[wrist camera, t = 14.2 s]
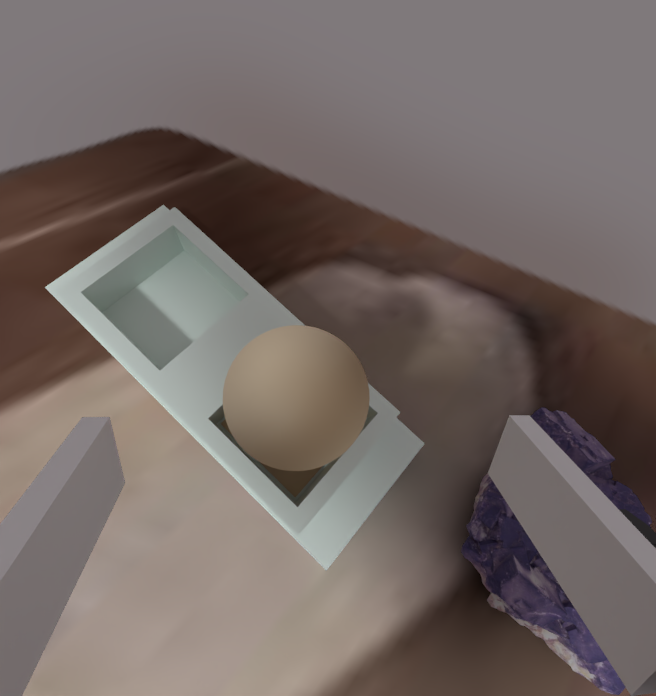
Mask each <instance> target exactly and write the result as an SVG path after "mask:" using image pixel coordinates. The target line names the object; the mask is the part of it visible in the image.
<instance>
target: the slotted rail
mask: <svg viewBox="0 0 656 696" xmlns="http://www.w3.org/2000/svg"><path fill="white" fill-rule="evenodd" d="M45 288H46V289H47V290H48V291H49V292H50V293H51V294H52V295H53V296H54V297H55V298H56V299H57V300H58V301H59V302H60V303H61V304H62V305H63V306H64V307H65V308H66V309H67V310H68V311H69V312H70V313H71V314H72V315H73V316H74V317H75V318H76V319H77V320H78V321H79V322H80V323H81V324H82V325H83V326H84V327H85V328H86V329H87V330H88V331H89V332H90V333H91V334H92V335H93V336H94V337H95V338H96V339H97V340H98V341H99V342H100V343H101V344H102V345H103V346H104V347H105V348H106V349H107V350H108V351H109V352H110V353H111V354H112V355H113V356H114V357H115V358H116V359H117V360H118V361H119V362H120V363H121V364H122V365H123V366H124V368H125V369H126V370H127V371H128V372H129V373H130V374H131V375H132V376H133V377H134V378H135V379H136V380H137V381H138V382H139V383H140V384H141V385H142V386H143V387H144V388H145V389H146V390H147V391H148V392H149V393H150V394H151V395H152V396H153V397H154V398H155V399H156V400H157V401H158V402H159V403H160V404H161V405H162V406H163V407H164V408H165V409H166V410H167V411H168V412H169V413H170V414H171V415H172V416H173V417H174V418H175V419H176V420H177V421H178V422H179V423H180V424H181V425H182V426H183V427H184V428H185V429H186V430H187V431H188V432H189V433H190V434H191V435H192V436H193V437H194V438H195V439H196V440H197V441H198V442H199V443H200V444H201V445H202V446H203V447H204V448H205V449H206V450H207V451H208V452H209V453H210V454H211V455H212V456H213V457H214V458H215V459H216V460H217V461H218V462H219V463H220V464H221V465H222V466H223V467H224V468H225V469H226V470H227V471H228V472H229V473H230V474H231V475H232V476H233V477H234V478H235V479H236V480H237V481H238V482H239V483H240V484H241V485H242V486H243V487H244V488H245V489H246V490H247V491H248V492H249V493H250V494H251V495H252V496H253V497H254V498H255V499H256V500H257V501H258V502H259V503H260V504H261V505H262V506H263V507H264V508H265V509H266V510H267V511H268V512H269V513H270V514H271V515H272V516H273V517H274V518H275V519H276V521H277V522H278V523H279V524H280V525H281V526H282V527H283V528H284V529H285V530H286V531H287V532H288V533H289V534H290V535H291V536H292V537H293V538H294V539H295V540H296V541H297V542H298V543H299V544H300V545H301V546H302V547H303V548H304V549H305V550H306V551H307V552H308V553H309V554H310V555H311V556H312V557H313V558H314V559H315V560H316V561H317V562H318V563H319V564H320V565H321V566H322V567H323V568H324V569H325V570H326V571H327V569H328V568H329V567H330V565H331V564H332V563H333V561H334V560H335V559H336V558H337V556H338V555H339V554H340V552H341V551H342V550H343V549H344V547H345V546H346V545H347V543H348V542H349V541H350V540H351V538H352V537H353V536H354V534H355V533H356V532H357V530H358V529H359V528H360V527H361V525H362V524H363V523H364V521H365V520H366V519H367V518H368V516H369V515H370V514H371V512H372V511H373V510H374V508H375V507H376V506H377V505H378V503H379V502H380V501H381V499H382V498H383V497H384V496H385V494H386V493H387V492H388V490H389V489H390V488H391V487H392V485H393V484H394V483H395V481H396V480H397V479H398V477H399V476H400V475H401V474H402V472H403V471H404V470H405V468H406V467H407V466H408V465H409V463H410V462H411V461H412V459H413V458H414V457H415V455H416V454H417V453H418V452H419V450H420V449H421V448H422V446H423V445H424V444H425V443H424V442H423V441H421V440H420V439H419V438H418V437H417V436H416V435H415V434H414V433H413V432H412V431H411V430H409V429H408V428H407V427H406V426H405V425H404V424H403V423H402V422H401V421H400V420H398V419H397V418H396V417H397V416H398V415H399V414H400V413H401V412H400V411H399V410H397V409H396V408H395V407H394V406H393V405H392V404H391V403H390V402H389V401H388V400H386V399H385V398H384V397H383V396H382V395H381V394H380V393H379V392H378V391H377V390H375V389H374V388H373V387H372V386H371V385H370V384H369V383H368V386H369V397H370V400H369V410H368V414H367V418H366V421H365V424H364V427H363V429H362V431H361V432H360V434H359V436H358V438H357V439H356V440H355V442H354V443H353V444H352V445H351V447H350V448H349V449H348V450H347V451H346V452H345V453H343V454H342V455H341V456H340V457H338V458H337V459H335V460H334V461H332V462H330V463H328V464H326V465H324V466H321V467H318V468H315V469H311V470H305V471H286V470H280V469H276V468H272V467H270V466H267V465H265V464H263V463H261V462H259V461H257V460H256V459H254V458H253V457H251V456H250V455H249V454H248V453H247V452H245V451H244V450H243V448H242V447H241V446H240V445H239V444H238V443H237V441H236V440H235V438H234V437H233V435H232V433H231V431H230V430H229V428H228V425H227V422H226V419H225V415H224V410H223V388H224V383H225V379H226V376H227V373H228V370H229V368H230V366H231V364H232V362H233V361H234V359H235V358H236V356H237V355H238V353H239V352H240V351H241V350H242V349H243V348H244V347H245V346H246V345H247V344H248V343H249V342H250V341H252V340H253V339H255V338H256V337H257V336H259V335H261V334H263V333H265V332H267V331H269V330H272V329H275V328H279V327H283V326H291V325H303V326H305V325H304V324H303V323H302V322H301V321H300V320H299V319H297V318H296V317H295V316H294V315H293V314H292V313H291V312H290V311H289V310H288V309H286V308H285V307H284V306H283V305H282V304H281V303H280V302H279V301H278V300H277V299H275V298H274V297H273V296H272V295H271V294H270V293H269V292H268V291H267V290H266V289H264V288H263V287H262V286H261V285H260V284H259V283H258V282H257V281H256V280H255V279H253V278H252V277H251V276H250V275H249V274H248V273H247V272H246V271H245V270H244V269H242V268H241V267H240V266H239V265H238V264H237V263H236V262H235V261H234V260H233V259H231V258H230V257H229V256H228V255H227V254H226V253H225V252H224V251H223V250H222V249H221V248H219V247H218V246H217V245H216V244H215V243H214V242H213V241H212V240H211V239H210V238H208V237H207V236H206V235H205V234H204V233H203V232H202V231H201V230H200V229H199V228H197V227H196V226H195V225H194V224H193V223H192V222H191V221H190V220H189V219H188V218H186V217H185V216H184V215H183V214H182V213H181V212H180V211H179V210H178V209H177V208H175V207H174V208H172V209H171V210H169V209H168V208H166V207H165V206H164V205H162V206H161V207H159V208H158V209H157V210H155V211H154V212H152V213H151V214H149V215H148V216H147V217H145V218H144V219H142V220H141V221H139V222H138V223H136V224H135V225H134V226H132V227H131V228H129V229H128V230H126V231H125V232H124V233H122V234H121V235H119V236H118V237H116V238H115V239H114V240H112V241H111V242H109V243H108V244H106V245H105V246H104V247H102V248H101V249H99V250H98V251H96V252H95V253H94V254H92V255H91V256H89V257H88V258H86V259H85V260H83V261H82V262H81V263H79V264H78V265H76V266H75V267H73V268H72V269H71V270H69V271H68V272H66V273H65V274H63V275H62V276H61V277H59V278H58V279H56V280H55V281H53V282H52V283H51V284H49V285H48V286H46V287H45Z"/></svg>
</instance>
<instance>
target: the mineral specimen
mask: <svg viewBox="0 0 656 696" xmlns="http://www.w3.org/2000/svg"><path fill="white" fill-rule="evenodd" d="M530 417H531V418H532V419H533V420H534V421H535V422H536V423H537V424H538V425H539V426H540V427H541V428H542V429H543V430H544V431H545V432H546V433H547V434H548V436H549V437H550V438H551V439H552V440H553V441H554V442H555V443H556V444H557V445H558V446H559V447H560V448H561V449H562V450H563V451H564V452H565V453H566V455H567V456H568V457H569V458H570V459H571V460H572V461H573V462H574V463H575V464H576V465H577V466H578V467H579V468H580V469H581V470H582V471H583V472H584V474H585V475H586V476H587V477H588V478H589V479H590V480H591V481H592V482H593V483H594V484H595V485H596V486H597V487H598V488H599V489H600V490H601V491H602V492H603V494H604V495H605V496H606V497H607V498H608V499H609V500H610V501H611V502H612V503H613V504H614V505H615V506H616V507H617V508H618V509H626V510H627V511H629V512H630V513H632V514H633V515H634V516H636V517H637V518H639V519H640V520H642V521H643V522H644V523H646V524H647V525H648V526H649V525H650V524H651V523H652V520H651V517H650V516H649V515H648V514H647V513H646V512H645V511H644V507H643V505H642V504H641V502H640V500H639V499H638V497H637V496H636V495H635V494H634V493H633V492H632V490H631V489H630V488H628V487H627V486H626V485H623V484H621V483H620V482H618V481H613V480H612V478H613V476H612V472H611V466H610V463H611V462H613V461H614V460H616V459H615V458H614V457H613V456H612V455H611V454H610V453H609V452H608V451H607V450H606V449H605V448H604V447H603V446H602V445H601V444H600V443H599V441H598V440H597V439H596V438H595V437H594V436H593V435H591V434H589V433H588V432H586V431H585V430H584V429H583V428H582V427H581V426H580V425H579V424H577V423H576V421H575V420H574V418H571V417H570V416H569V415H568V414H567V413H566V412H563V411H558V410H556V411H554V412H551V411H549V410H548V409H546V408H544V407H543V408H540V409H538V410H537V411H535V412H534V414H533V415H532V416H530ZM466 527H467V530H468V532H469V537H468V538H467V540H466V541H465V543H464V544H463V546H462V549H461V553H462V554H463V556H464V558H466V559H467V560H469V561H471V562H472V564H473V566H474V567H475V568H476V569H477V571H478V572H479V573H480V575H481V579H482V583H483V585H484V586H485V587H486V589H487V590H488V591H490V595H489V597H488V599H487V601H488V603H489V604H490V605H491V607H493V608H496V609H498V610H500V611H502V612H505V613H508V614H509V615H510V616H511V617H512V618H513V619H514V620H515V621H516V622H517V623H518V624H520V625H521V626H526V627H527V628H528V629H530V630H531V631H532V632H533V633H534V634H535V635H536V636H538V637H540V638H542V639H543V640H544V641H545V643H546V644H547V645H548V646H549V648H550V649H551V650H553V651H554V652H555V653H556V654H557V655H558V656H559V657H560V658H561V659H563V660H564V661H565V662H566V663H567V664H568V665H570V666H571V668H572V670H573V671H575V672H577V673H578V674H580V675H582V676H583V677H585V678H587V679H588V680H589V681H591V682H592V683H593V684H594V685H595V686H597V687H598V688H599V689H600V690H603V691H605V692H608V693H610V694H616V695H619V694H620V693H621V692H622V691H623V690H624V688H625V685H624V684H623V682H622V681H621V679H620V678H619V676H618V674H617V673H616V671H615V670H614V668H613V667H612V665H611V664H610V662H609V660H608V659H607V657H606V656H605V654H604V653H603V651H602V650H601V648H600V646H599V645H598V643H597V642H596V640H595V639H594V637H593V636H592V634H591V633H590V631H589V629H588V628H587V626H586V625H585V623H584V622H583V620H582V619H581V617H580V615H579V614H578V612H577V611H576V609H575V608H574V606H573V605H572V603H571V602H570V600H569V598H568V597H567V595H566V594H565V592H564V591H563V589H562V588H561V586H560V584H559V583H558V581H557V580H556V578H555V577H554V575H553V574H552V572H551V570H550V569H549V567H548V566H547V564H546V563H545V561H544V560H543V558H542V557H541V555H540V553H539V552H538V550H537V549H536V547H535V546H534V544H533V543H532V541H531V539H530V538H529V536H528V535H527V533H526V532H525V530H524V529H523V527H522V525H521V524H520V522H519V521H518V519H517V518H516V516H515V515H514V513H513V512H512V510H511V508H510V507H509V505H508V504H507V502H506V501H505V499H504V498H503V496H502V494H501V493H500V491H499V490H498V488H497V487H496V485H495V484H494V482H493V481H492V479H491V477H490V476H489V474H488V473H487V474H486V475H485V476H484V477H483V478H482V481H481V484H480V490H479V492H478V494H477V496H476V497H475V502H474V512H473V514H472V516H471V520H470V522H469V523H468V524H467V525H466ZM649 527H650V526H649ZM650 528H651V527H650Z"/></svg>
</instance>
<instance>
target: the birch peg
mask: <svg viewBox="0 0 656 696" xmlns="http://www.w3.org/2000/svg"><path fill="white" fill-rule="evenodd" d="M369 400H370V397H369V386H368V380H367V377H366V374H365V371H364V369H363V367H362V364H361V363H360V361H359V359H358V358H357V356H356V355H355V353H354V352H353V351H352V350H351V349H350V348H349V347H348V346H347V345H346V344H345V343H344V342H343V341H342V340H340V339H339V338H337V337H336V336H334V335H332V334H331V333H329V332H326V331H324V330H322V329H318V328H315V327H310V326H303V325H291V326H283V327H279V328H275V329H272V330H269V331H267V332H265V333H263V334H261V335H259V336H257V337H256V338H255V339H253V340H252V341H250V342H249V343H248V344H247V345H246V346H245V347H244V348H243V349H242V350H241V351H240V352H239V353H238V355H237V356H236V358H235V359H234V361H233V362H232V364H231V366H230V368H229V370H228V373H227V376H226V379H225V383H224V388H223V410H224V415H225V419H226V422H227V425H228V428H229V430H230V431H231V433H232V435H233V437H234V438H235V440H236V441H237V443H238V444H239V445H240V446H241V447H242V448H243V450H244V451H245V452H247V453H248V454H249V455H250V456H251V457H253V458H254V459H256V460H257V461H259V462H261V463H263V464H265V465H267V466H270V467H272V468H276V469H280V470H286V471H305V470H311V469H315V468H318V467H321V466H324V465H326V464H328V463H330V462H332V461H334V460H335V459H337V458H338V457H340V456H341V455H342V454H343V453H345V452H346V451H347V450H348V449H349V448H350V447H351V445H352V444H353V443H354V442H355V440H356V439H357V438H358V436H359V434H360V432H361V431H362V429H363V427H364V424H365V421H366V418H367V414H368V410H369Z"/></svg>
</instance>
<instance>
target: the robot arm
mask: <svg viewBox="0 0 656 696" xmlns="http://www.w3.org/2000/svg"><path fill="white" fill-rule="evenodd" d="M488 474H489V476H490V477H491V479H492V481H493V482H494V484H495V485H496V487H497V488H498V490H499V491H500V493H501V494H502V496H503V498H504V499H505V501H506V502H507V504H508V505H509V507H510V508H511V510H512V512H513V513H514V515H515V516H516V518H517V519H518V521H519V522H520V524H521V525H522V527H523V529H524V530H525V532H526V533H527V535H528V536H529V538H530V539H531V541H532V543H533V544H534V546H535V547H536V549H537V550H538V552H539V553H540V555H541V557H542V558H543V560H544V561H545V563H546V564H547V566H548V567H549V569H550V570H551V572H552V574H553V575H554V577H555V578H556V580H557V581H558V583H559V584H560V586H561V588H562V589H563V591H564V592H565V594H566V595H567V597H568V598H569V600H570V602H571V603H572V605H573V606H574V608H575V609H576V611H577V612H578V614H579V615H580V617H581V619H582V620H583V622H584V623H585V625H586V626H587V628H588V629H589V631H590V633H591V634H592V636H593V637H594V639H595V640H596V642H597V643H598V645H599V646H600V648H601V650H602V651H603V653H604V654H605V656H606V657H607V659H608V660H609V662H610V664H611V665H612V667H613V668H614V670H615V671H616V673H617V674H618V676H619V678H620V679H621V681H622V682H623V684H624V685H625V687H626V688H627V690H628V691H629V693H630V695H631V696H632V695H641V694H649V693H656V533H655V532H654V531H653V530H652V529H651V528H650V527H649V526H648V525H647V524H646V523H644V522H643V521H642V520H640V519H639V518H637V517H636V516H634V515H633V514H632V513H630V512H629V511H627V510H626V509H618V508H617V507H616V506H615V505H614V504H613V503H612V502H611V501H610V500H609V499H608V498H607V497H606V496H605V495H604V494H603V492H602V491H601V490H600V489H599V488H598V487H597V486H596V485H595V484H594V483H593V482H592V481H591V480H590V479H589V478H588V477H587V476H586V475H585V474H584V472H583V471H582V470H581V469H580V468H579V467H578V466H577V465H576V464H575V463H574V462H573V461H572V460H571V459H570V458H569V457H568V456H567V455H566V453H565V452H564V451H563V450H562V449H561V448H560V447H559V446H558V445H557V444H556V443H555V442H554V441H553V440H552V439H551V438H550V437H549V436H548V434H547V433H546V432H545V431H544V430H543V429H542V428H541V427H540V426H539V425H538V424H537V423H536V422H535V421H534V420H533V419H532V418H531V417H530V416H529V415H509V417H508V420H507V423H506V425H505V428H504V431H503V434H502V436H501V439H500V442H499V444H498V447H497V450H496V452H495V455H494V458H493V460H492V463H491V466H490V468H489V471H488ZM124 484H125V480H124V476H123V472H122V467H121V463H120V459H119V455H118V450H117V446H116V442H115V438H114V434H113V429H112V425H111V421H110V417H82V418H81V420H80V421H79V422H78V424H77V425H76V426H75V428H74V429H73V430H72V431H71V433H70V434H69V435H68V437H67V438H66V439H65V441H64V442H63V443H62V445H61V446H60V447H59V448H58V450H57V451H56V452H55V454H54V455H53V456H52V458H51V459H50V460H49V461H48V463H47V464H46V465H45V467H44V468H43V469H42V471H41V472H40V473H39V474H38V476H37V477H36V478H35V480H34V481H33V482H32V484H31V485H30V486H29V487H28V489H27V490H26V491H25V493H24V494H23V495H22V497H21V498H20V499H19V500H18V502H17V503H16V504H15V506H14V507H13V508H12V510H11V511H10V512H9V514H8V515H7V516H6V517H5V519H4V520H3V521H2V523H1V524H0V696H22V695H23V693H24V690H25V688H26V686H27V684H28V682H29V680H30V678H31V676H32V674H33V672H34V670H35V668H36V666H37V664H38V662H39V659H40V657H41V655H42V653H43V651H44V649H45V647H46V645H47V643H48V641H49V639H50V637H51V635H52V633H53V631H54V628H55V626H56V624H57V622H58V620H59V618H60V616H61V614H62V612H63V610H64V608H65V606H66V604H67V602H68V600H69V597H70V595H71V593H72V591H73V589H74V587H75V585H76V583H77V581H78V579H79V577H80V575H81V573H82V571H83V569H84V566H85V564H86V562H87V560H88V558H89V556H90V554H91V552H92V550H93V548H94V546H95V544H96V542H97V540H98V538H99V535H100V533H101V531H102V529H103V527H104V525H105V523H106V521H107V519H108V517H109V515H110V513H111V511H112V509H113V507H114V504H115V502H116V500H117V498H118V496H119V494H120V492H121V490H122V488H123V486H124Z"/></svg>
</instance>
